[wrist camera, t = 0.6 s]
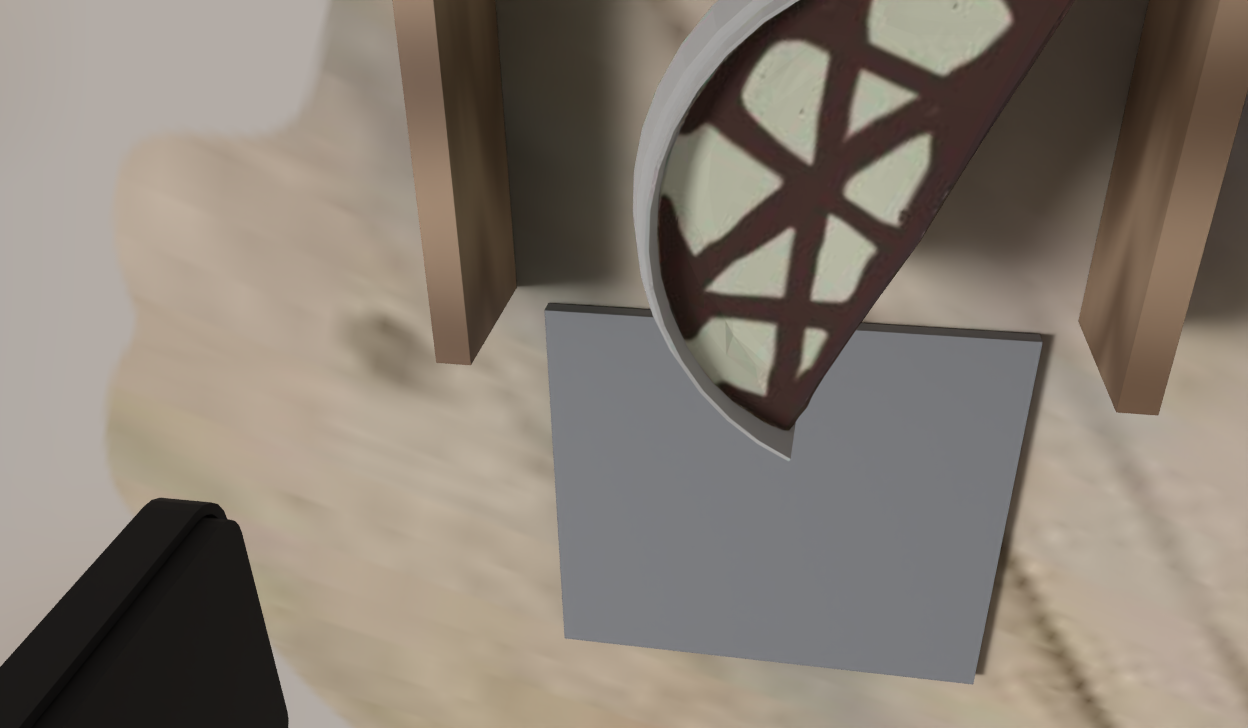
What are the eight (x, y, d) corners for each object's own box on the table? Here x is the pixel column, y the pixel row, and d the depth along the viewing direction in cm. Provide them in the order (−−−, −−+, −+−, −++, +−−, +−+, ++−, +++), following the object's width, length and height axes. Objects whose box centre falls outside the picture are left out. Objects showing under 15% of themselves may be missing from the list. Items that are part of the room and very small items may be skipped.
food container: (813, -236, 26) (800, -225, 17) (1037, -117, 26) (1136, -49, 17) (610, 196, 32) (527, 360, 23) (793, 285, 32) (777, 479, 24)
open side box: (1114, 323, 31) (1157, 415, 27) (486, 285, 34) (436, 362, 30) (1270, -329, 23) (1367, -345, 19) (433, -304, 26) (354, -314, 22)
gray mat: (971, 673, 39) (973, 684, 38) (567, 629, 41) (564, 638, 41) (1039, 334, 32) (1042, 342, 31) (548, 303, 34) (544, 310, 34)
